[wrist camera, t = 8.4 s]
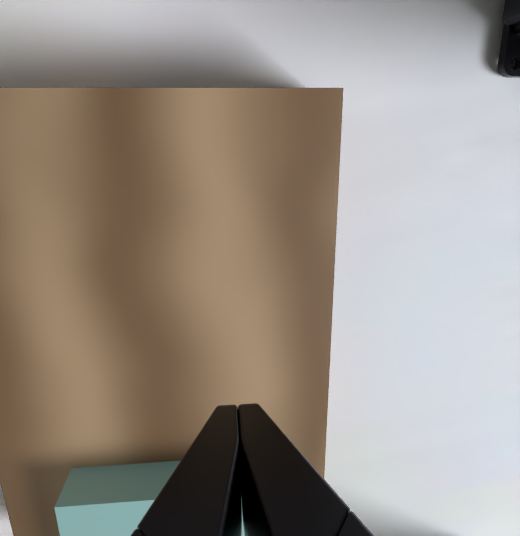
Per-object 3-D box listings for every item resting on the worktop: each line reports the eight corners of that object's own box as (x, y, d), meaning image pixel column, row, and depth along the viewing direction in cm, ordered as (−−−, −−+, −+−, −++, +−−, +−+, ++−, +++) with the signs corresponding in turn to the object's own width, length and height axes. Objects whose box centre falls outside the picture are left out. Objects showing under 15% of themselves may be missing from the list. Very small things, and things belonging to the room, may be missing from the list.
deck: (317, 96, 18) (343, 87, 14) (304, 499, 25) (319, 565, 21) (-26, 97, 17) (-97, 87, 13) (58, 518, 24) (27, 592, 20)
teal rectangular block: (280, 453, 19) (287, 489, 17) (279, 554, 21) (285, 596, 19) (71, 468, 18) (54, 507, 16) (90, 571, 20) (76, 617, 18)
